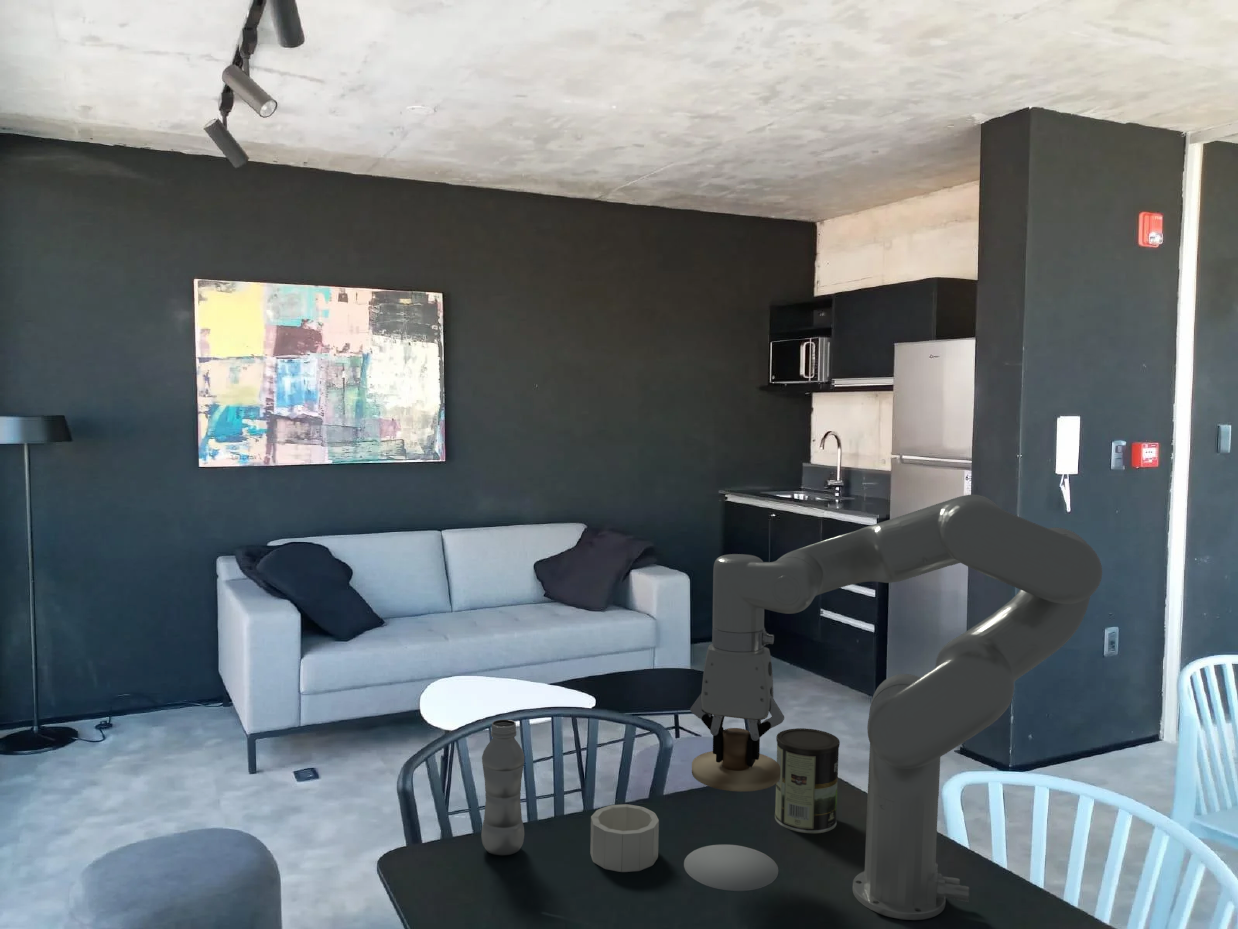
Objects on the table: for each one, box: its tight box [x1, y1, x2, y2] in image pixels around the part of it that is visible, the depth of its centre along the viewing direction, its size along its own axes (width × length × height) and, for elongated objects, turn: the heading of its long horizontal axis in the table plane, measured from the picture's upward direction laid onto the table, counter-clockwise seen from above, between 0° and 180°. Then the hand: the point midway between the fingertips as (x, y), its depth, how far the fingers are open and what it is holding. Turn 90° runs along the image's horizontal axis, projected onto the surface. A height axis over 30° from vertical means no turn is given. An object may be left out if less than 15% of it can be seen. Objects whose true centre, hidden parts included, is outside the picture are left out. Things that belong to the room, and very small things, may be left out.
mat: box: [683, 844, 779, 892], centre depth 143 cm, size 14×14×1 cm
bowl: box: [589, 803, 660, 873], centre depth 145 cm, size 10×10×6 cm
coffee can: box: [774, 727, 841, 834], centre depth 159 cm, size 10×10×14 cm
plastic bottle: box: [480, 718, 525, 856], centre depth 146 cm, size 6×7×20 cm
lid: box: [691, 727, 780, 792], centre depth 141 cm, size 13×13×6 cm
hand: (735, 760), depth 141 cm, fingers closed on lid, 4 cm apart
